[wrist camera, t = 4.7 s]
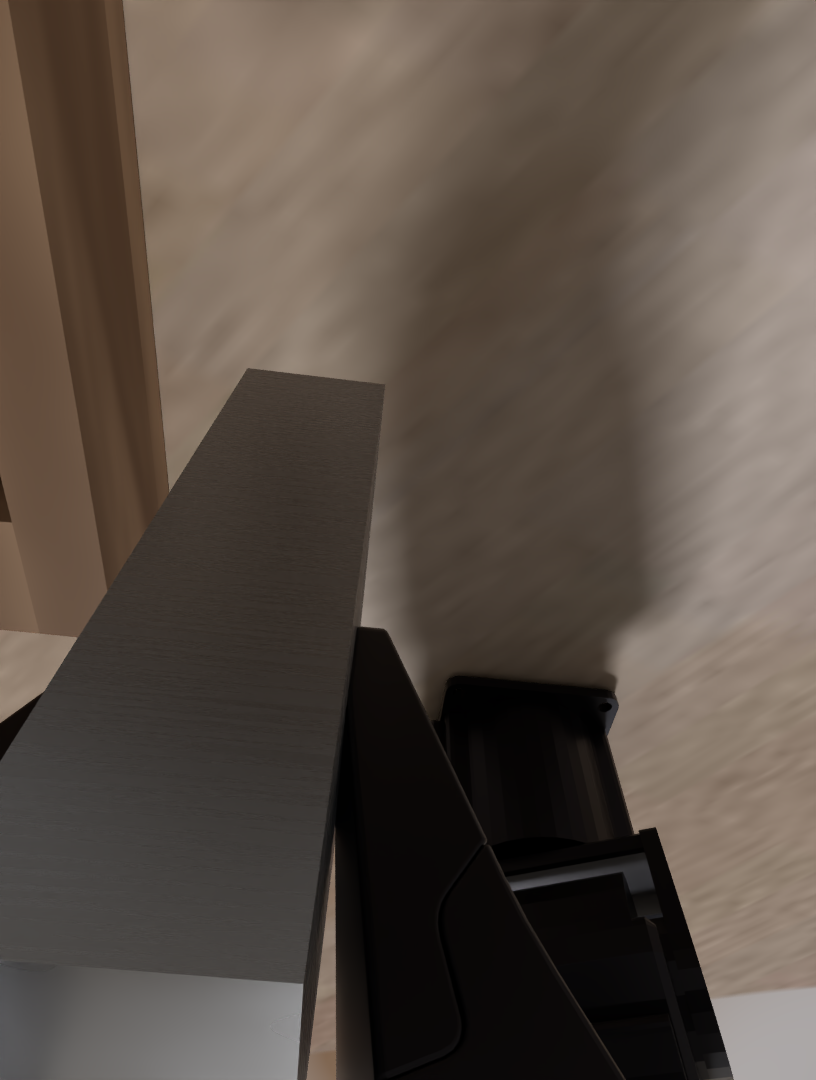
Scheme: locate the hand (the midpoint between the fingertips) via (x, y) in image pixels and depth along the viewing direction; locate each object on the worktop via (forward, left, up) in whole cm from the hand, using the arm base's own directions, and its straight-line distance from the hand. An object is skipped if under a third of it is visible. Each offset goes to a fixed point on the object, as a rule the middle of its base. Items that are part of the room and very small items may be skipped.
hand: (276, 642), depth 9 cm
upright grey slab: (0, 0, -3) cm, 3 cm away
